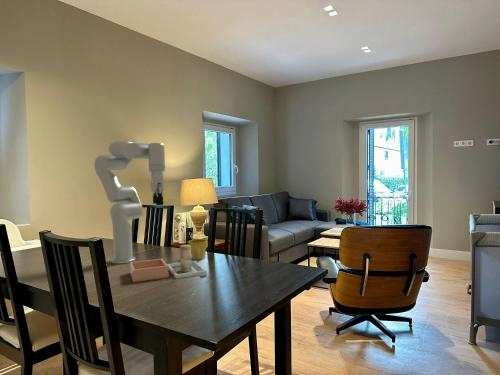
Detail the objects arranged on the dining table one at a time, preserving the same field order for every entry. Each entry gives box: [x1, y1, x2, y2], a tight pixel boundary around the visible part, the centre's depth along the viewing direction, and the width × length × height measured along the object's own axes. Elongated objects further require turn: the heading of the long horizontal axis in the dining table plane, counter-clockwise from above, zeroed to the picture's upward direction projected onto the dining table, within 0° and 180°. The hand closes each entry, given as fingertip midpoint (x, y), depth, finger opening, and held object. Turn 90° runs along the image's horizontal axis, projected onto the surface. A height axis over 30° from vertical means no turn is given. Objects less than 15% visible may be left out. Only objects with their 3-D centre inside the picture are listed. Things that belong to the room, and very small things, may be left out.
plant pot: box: [188, 238, 208, 261], centre depth 190 cm, size 10×10×10 cm
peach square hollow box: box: [129, 258, 170, 283], centre depth 157 cm, size 15×15×6 cm
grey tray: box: [166, 260, 208, 279], centre depth 163 cm, size 20×14×2 cm
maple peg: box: [179, 244, 193, 273], centre depth 163 cm, size 5×5×12 cm
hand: (158, 204), depth 167 cm, fingers open, 9 cm apart
